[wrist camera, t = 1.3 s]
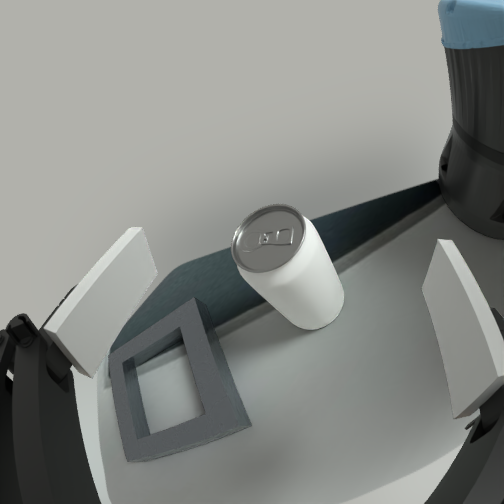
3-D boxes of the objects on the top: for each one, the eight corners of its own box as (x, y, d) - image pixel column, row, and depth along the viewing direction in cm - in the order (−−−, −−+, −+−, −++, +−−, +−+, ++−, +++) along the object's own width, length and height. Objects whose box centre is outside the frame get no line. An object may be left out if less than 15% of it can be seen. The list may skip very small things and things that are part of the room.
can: (289, 274, 31) (235, 207, 22) (346, 270, 28) (313, 192, 19) (281, 330, 28) (216, 280, 19) (343, 330, 25) (308, 275, 16)
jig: (206, 305, 34) (194, 297, 32) (251, 425, 23) (239, 425, 22) (121, 360, 36) (108, 355, 34) (141, 461, 25) (127, 461, 24)
